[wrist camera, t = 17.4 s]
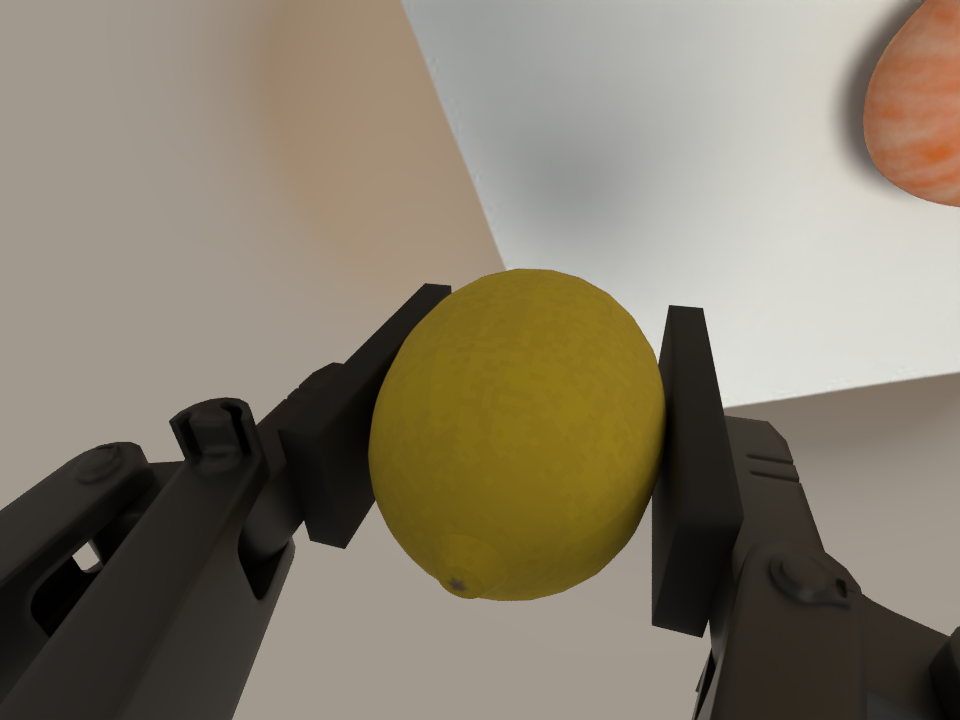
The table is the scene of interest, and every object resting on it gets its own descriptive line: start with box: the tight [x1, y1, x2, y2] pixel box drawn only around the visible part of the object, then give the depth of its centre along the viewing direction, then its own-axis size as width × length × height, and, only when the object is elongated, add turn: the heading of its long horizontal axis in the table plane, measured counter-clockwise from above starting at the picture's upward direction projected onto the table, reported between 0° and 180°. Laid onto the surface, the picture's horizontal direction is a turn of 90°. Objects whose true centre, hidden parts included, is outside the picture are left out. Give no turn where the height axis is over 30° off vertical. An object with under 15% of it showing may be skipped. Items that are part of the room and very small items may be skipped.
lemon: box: [368, 269, 667, 601], centre depth 10 cm, size 6×6×8 cm
